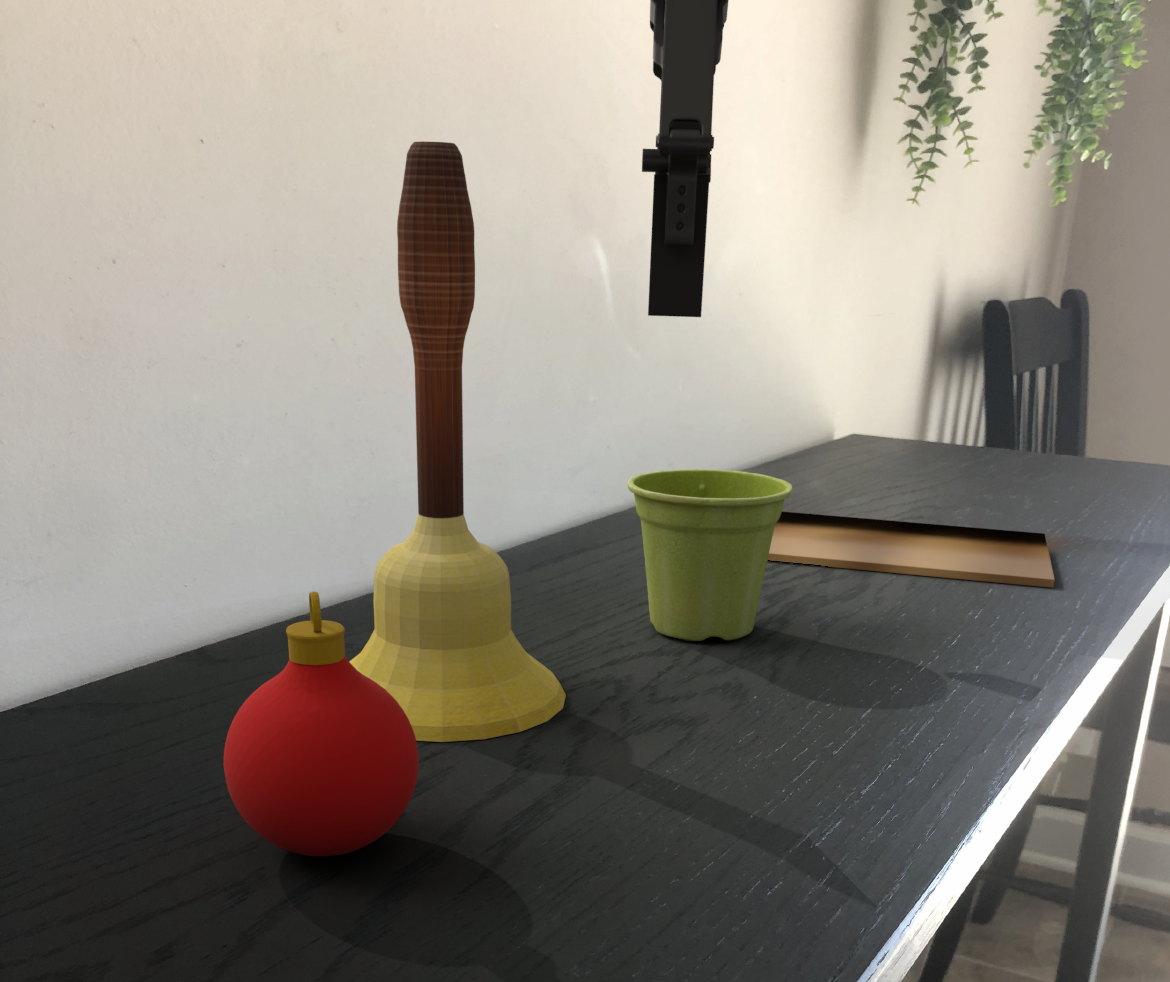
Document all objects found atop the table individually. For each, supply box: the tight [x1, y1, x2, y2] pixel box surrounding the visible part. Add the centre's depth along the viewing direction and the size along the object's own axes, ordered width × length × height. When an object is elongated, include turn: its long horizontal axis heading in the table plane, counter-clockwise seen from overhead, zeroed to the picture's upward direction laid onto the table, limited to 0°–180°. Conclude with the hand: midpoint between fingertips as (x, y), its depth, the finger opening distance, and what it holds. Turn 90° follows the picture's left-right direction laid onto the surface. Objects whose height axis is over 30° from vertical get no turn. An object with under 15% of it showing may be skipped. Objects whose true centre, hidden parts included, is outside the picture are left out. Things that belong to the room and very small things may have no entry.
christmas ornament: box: [223, 591, 420, 857], centre depth 46 cm, size 7×7×10 cm
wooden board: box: [768, 511, 1056, 589], centre depth 97 cm, size 22×18×1 cm
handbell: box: [349, 141, 567, 743], centre depth 59 cm, size 12×12×25 cm
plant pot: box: [627, 468, 793, 642], centre depth 74 cm, size 9×9×9 cm
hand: (672, 308), depth 71 cm, fingers open, 13 cm apart
